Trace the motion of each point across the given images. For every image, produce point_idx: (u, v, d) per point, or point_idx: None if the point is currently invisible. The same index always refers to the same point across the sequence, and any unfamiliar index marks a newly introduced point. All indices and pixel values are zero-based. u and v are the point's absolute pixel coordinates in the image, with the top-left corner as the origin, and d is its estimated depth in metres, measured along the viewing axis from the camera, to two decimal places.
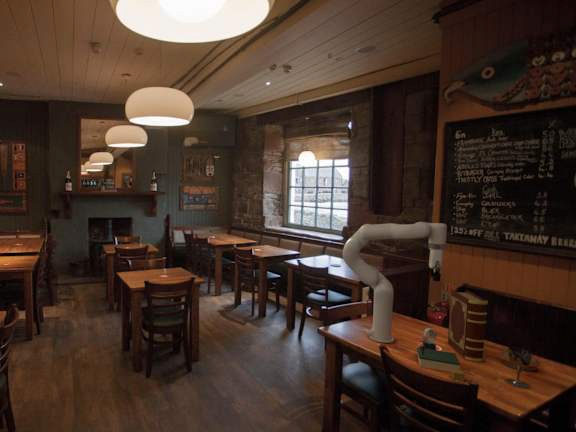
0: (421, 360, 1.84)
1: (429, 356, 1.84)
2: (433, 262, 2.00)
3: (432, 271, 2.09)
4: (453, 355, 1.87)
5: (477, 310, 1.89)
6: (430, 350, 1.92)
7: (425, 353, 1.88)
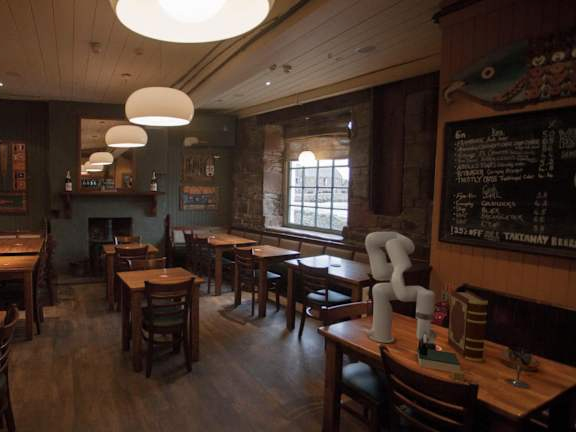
0: (421, 360, 1.84)
1: (429, 356, 1.84)
2: (420, 333, 1.84)
3: (420, 344, 1.91)
4: (453, 355, 1.87)
5: (477, 310, 1.89)
6: (430, 350, 1.92)
7: None
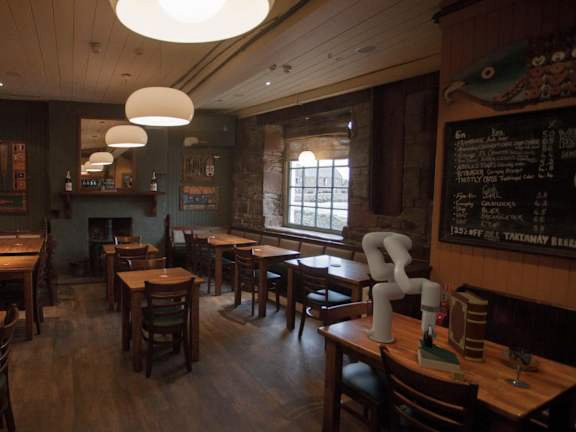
0: (421, 360, 1.84)
1: (431, 350, 1.84)
2: (425, 326, 1.83)
3: None
4: (453, 354, 1.86)
5: (477, 310, 1.89)
6: None
7: None
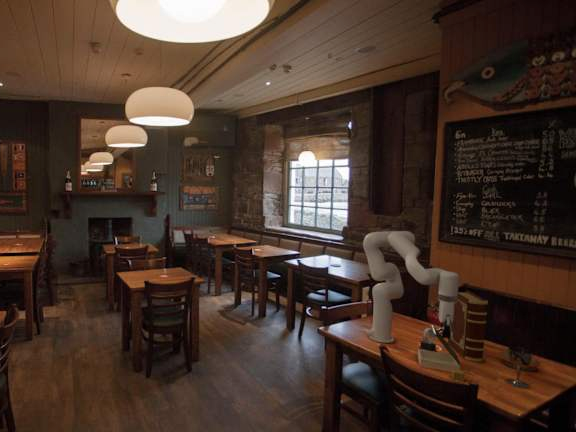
0: (421, 360, 1.84)
1: (442, 340, 1.82)
2: (443, 316, 1.80)
3: None
4: (455, 353, 1.86)
5: (477, 310, 1.89)
6: (441, 336, 1.89)
7: (439, 335, 1.85)
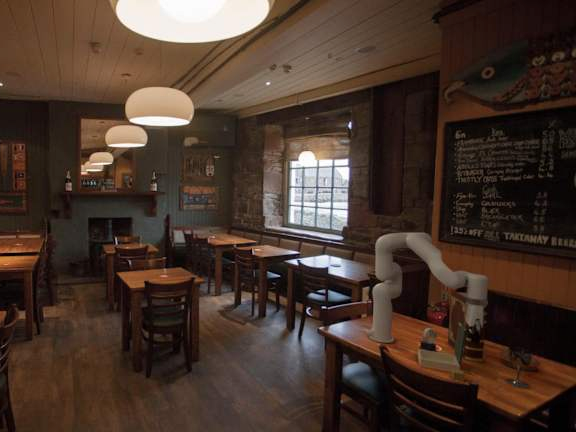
0: (421, 360, 1.84)
1: None
2: (472, 320, 1.75)
3: None
4: None
5: None
6: None
7: None
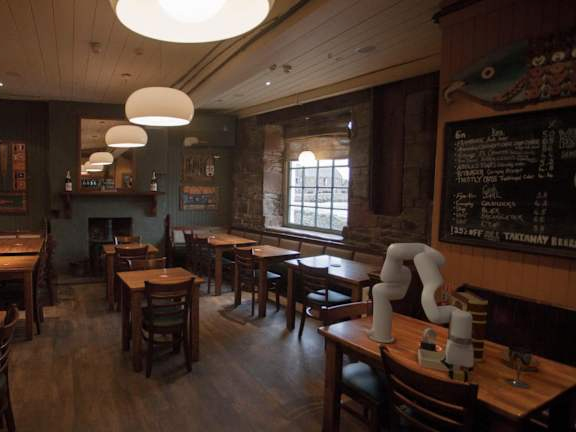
0: (421, 360, 1.84)
1: None
2: (445, 352, 1.75)
3: None
4: None
5: (477, 310, 1.89)
6: None
7: None
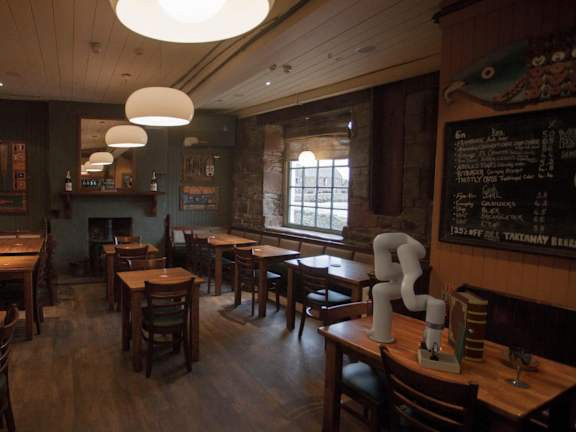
0: (421, 360, 1.84)
1: None
2: (430, 343, 1.83)
3: (430, 351, 1.91)
4: None
5: (477, 310, 1.89)
6: None
7: None
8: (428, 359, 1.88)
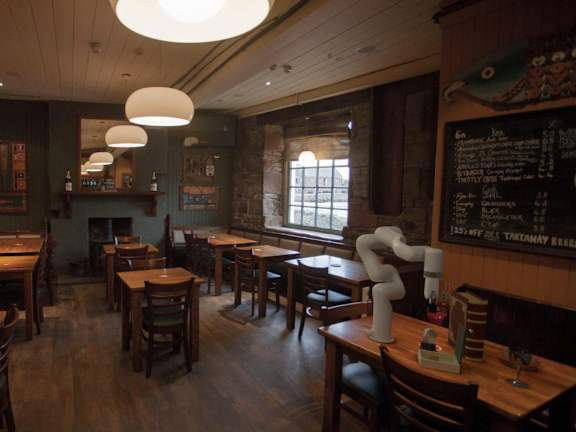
0: (421, 360, 1.84)
1: None
2: (428, 292, 1.82)
3: (428, 300, 1.90)
4: None
5: (477, 310, 1.89)
6: None
7: None
8: (428, 359, 1.88)
